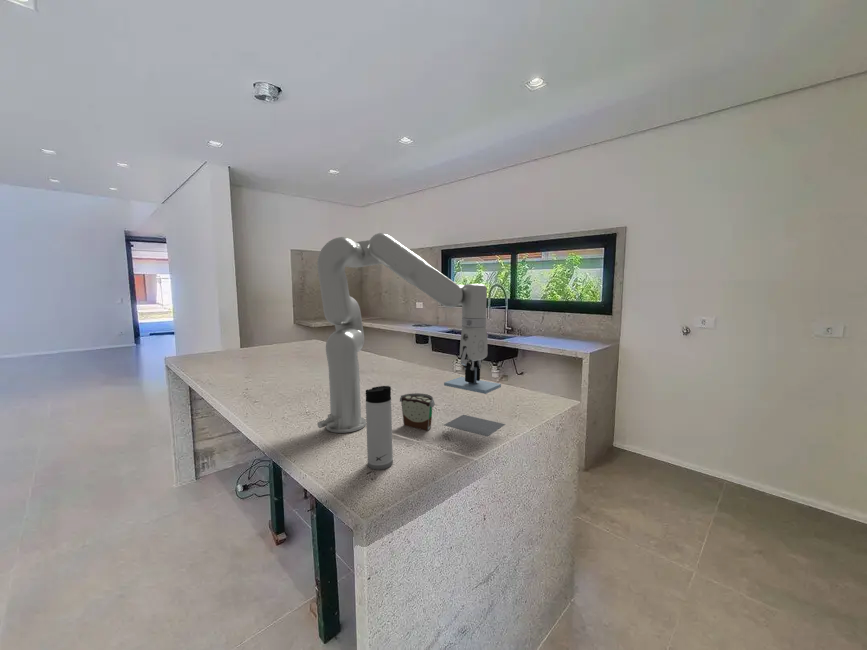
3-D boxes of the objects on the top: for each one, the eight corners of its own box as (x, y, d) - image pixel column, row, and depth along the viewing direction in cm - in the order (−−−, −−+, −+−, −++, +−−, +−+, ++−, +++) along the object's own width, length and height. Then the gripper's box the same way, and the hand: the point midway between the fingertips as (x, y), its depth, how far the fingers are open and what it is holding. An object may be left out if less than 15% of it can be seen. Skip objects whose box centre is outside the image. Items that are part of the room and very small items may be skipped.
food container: (442, 426, 115) (442, 396, 114) (432, 433, 110) (431, 401, 109) (411, 419, 122) (410, 390, 121) (400, 425, 116) (399, 395, 115)
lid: (485, 393, 106) (486, 373, 105) (444, 385, 115) (444, 367, 114) (500, 387, 114) (501, 368, 113) (461, 379, 122) (461, 362, 122)
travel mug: (383, 472, 86) (380, 391, 84) (362, 466, 89) (359, 387, 87) (398, 462, 91) (397, 385, 89) (379, 456, 95) (376, 382, 93)
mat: (487, 437, 106) (487, 436, 106) (443, 426, 115) (443, 424, 115) (505, 425, 115) (505, 424, 115) (463, 415, 125) (463, 414, 125)
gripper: (470, 326, 104) (469, 388, 105) (496, 322, 116) (494, 378, 118) (449, 324, 108) (448, 384, 110) (476, 321, 121) (475, 374, 123)
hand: (472, 380), depth 114 cm, fingers closed on lid, 2 cm apart
